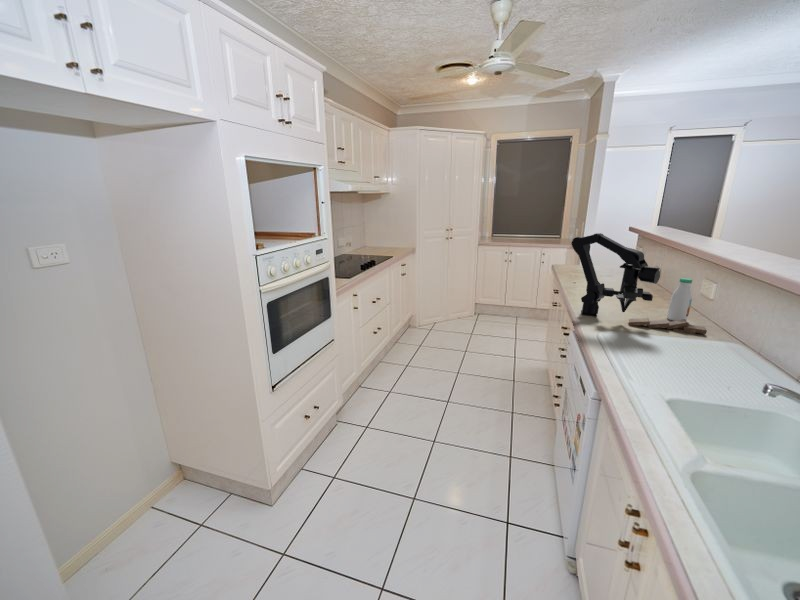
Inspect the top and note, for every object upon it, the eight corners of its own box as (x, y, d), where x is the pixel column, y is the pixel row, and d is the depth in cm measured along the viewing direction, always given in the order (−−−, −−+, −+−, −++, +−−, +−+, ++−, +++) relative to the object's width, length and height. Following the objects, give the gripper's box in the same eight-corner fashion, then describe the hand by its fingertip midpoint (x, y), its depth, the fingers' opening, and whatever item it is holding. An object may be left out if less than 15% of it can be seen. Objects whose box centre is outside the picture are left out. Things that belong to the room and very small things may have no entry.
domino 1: (629, 322, 160) (649, 321, 156) (628, 318, 164) (648, 318, 160) (629, 325, 160) (649, 324, 156) (629, 322, 164) (648, 321, 160)
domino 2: (648, 324, 157) (669, 323, 153) (646, 321, 161) (666, 319, 158) (648, 328, 157) (669, 326, 153) (646, 324, 161) (667, 323, 158)
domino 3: (666, 326, 155) (687, 322, 151) (664, 323, 159) (685, 319, 155) (667, 329, 155) (688, 325, 151) (665, 326, 159) (686, 322, 155)
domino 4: (673, 328, 154) (695, 332, 150) (672, 325, 158) (693, 328, 154) (672, 332, 154) (694, 335, 151) (671, 328, 158) (692, 332, 155)
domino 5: (684, 327, 151) (706, 330, 148) (682, 323, 156) (704, 326, 152) (683, 330, 152) (706, 333, 148) (681, 327, 156) (703, 330, 152)
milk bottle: (681, 323, 163) (691, 281, 158) (663, 318, 170) (672, 277, 164) (690, 320, 167) (700, 279, 161) (671, 316, 173) (681, 276, 168)
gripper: (608, 280, 154) (602, 314, 159) (659, 285, 148) (651, 320, 152) (605, 275, 164) (599, 307, 169) (652, 279, 157) (645, 312, 162)
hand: (623, 312), depth 163 cm, fingers closed
